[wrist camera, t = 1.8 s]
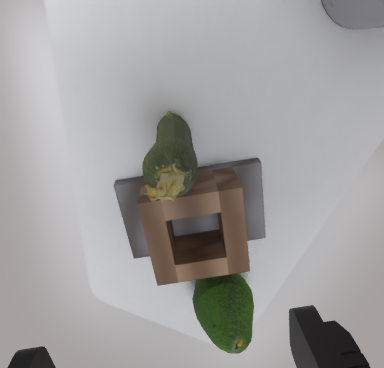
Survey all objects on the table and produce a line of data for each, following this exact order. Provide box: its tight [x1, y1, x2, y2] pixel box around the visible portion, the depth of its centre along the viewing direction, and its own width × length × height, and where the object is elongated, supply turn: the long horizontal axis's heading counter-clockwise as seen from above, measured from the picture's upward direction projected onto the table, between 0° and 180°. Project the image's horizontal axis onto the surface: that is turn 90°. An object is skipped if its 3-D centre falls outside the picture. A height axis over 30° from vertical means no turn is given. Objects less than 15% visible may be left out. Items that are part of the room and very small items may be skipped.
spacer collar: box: [114, 158, 265, 286], centre depth 38 cm, size 18×11×8 cm, turn 99°
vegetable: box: [143, 112, 197, 202], centre depth 28 cm, size 4×4×20 cm
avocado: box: [193, 273, 254, 353], centre depth 41 cm, size 8×8×12 cm
